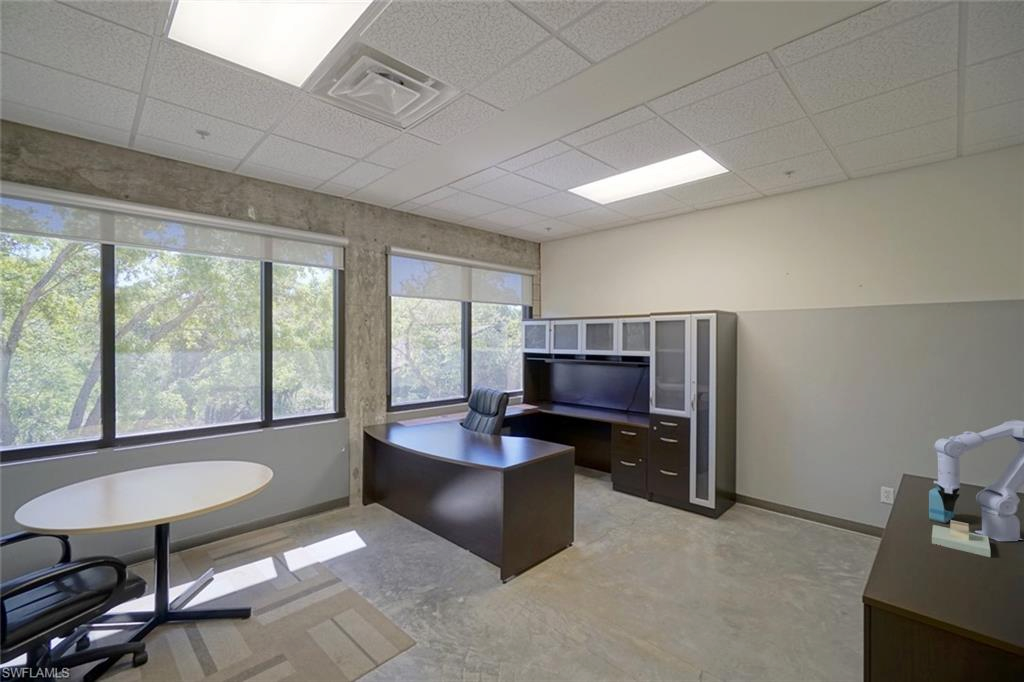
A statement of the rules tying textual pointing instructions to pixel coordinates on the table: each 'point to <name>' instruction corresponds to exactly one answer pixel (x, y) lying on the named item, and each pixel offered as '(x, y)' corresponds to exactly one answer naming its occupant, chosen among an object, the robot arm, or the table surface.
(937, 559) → the table surface
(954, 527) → the maple block
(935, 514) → the data package
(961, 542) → the base board
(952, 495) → the robot arm
